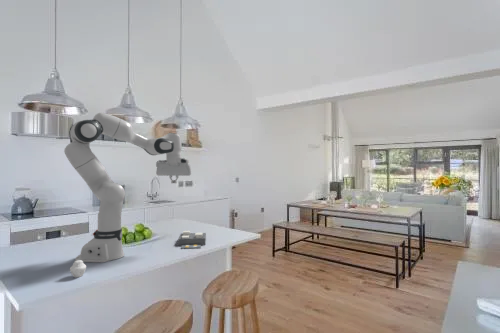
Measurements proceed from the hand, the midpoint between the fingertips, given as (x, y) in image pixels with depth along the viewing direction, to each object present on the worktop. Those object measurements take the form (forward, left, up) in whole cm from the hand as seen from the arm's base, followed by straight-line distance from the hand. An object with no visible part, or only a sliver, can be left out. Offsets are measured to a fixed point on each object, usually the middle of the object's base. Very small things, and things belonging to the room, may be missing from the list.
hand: (173, 183), depth 174 cm
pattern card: (+11, -7, -37) cm, 39 cm away
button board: (+11, +4, -37) cm, 39 cm away
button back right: (+15, +8, -35) cm, 39 cm away
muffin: (-34, -46, -37) cm, 68 cm away
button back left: (+7, +8, -34) cm, 35 cm away
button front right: (+15, +1, -34) cm, 37 cm away
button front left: (+7, +1, -35) cm, 36 cm away
